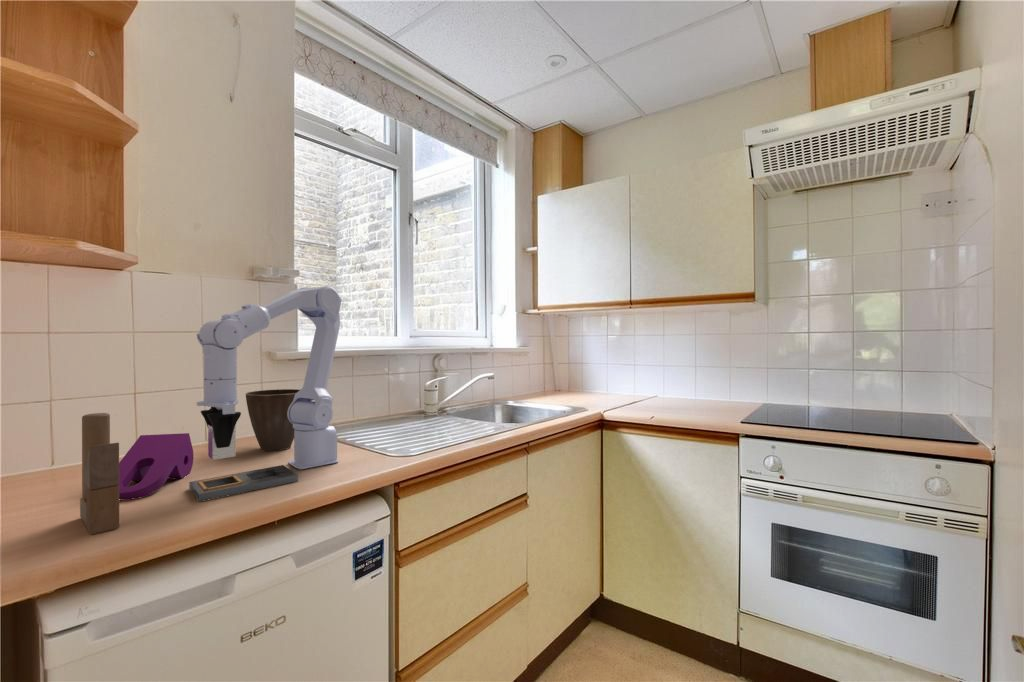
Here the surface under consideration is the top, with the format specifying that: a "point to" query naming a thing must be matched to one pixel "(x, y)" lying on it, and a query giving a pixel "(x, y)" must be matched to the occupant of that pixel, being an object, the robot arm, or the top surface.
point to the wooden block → (99, 475)
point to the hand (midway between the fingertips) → (220, 445)
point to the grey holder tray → (242, 482)
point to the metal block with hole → (220, 452)
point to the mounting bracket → (154, 463)
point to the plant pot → (271, 417)
